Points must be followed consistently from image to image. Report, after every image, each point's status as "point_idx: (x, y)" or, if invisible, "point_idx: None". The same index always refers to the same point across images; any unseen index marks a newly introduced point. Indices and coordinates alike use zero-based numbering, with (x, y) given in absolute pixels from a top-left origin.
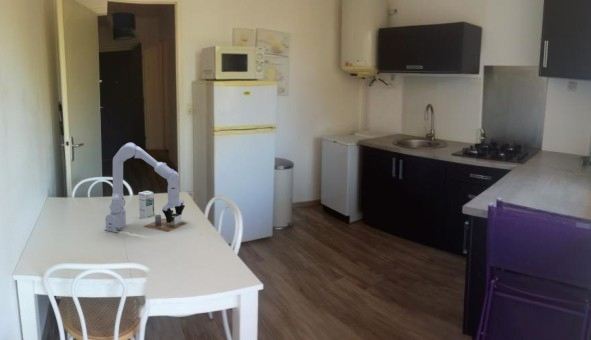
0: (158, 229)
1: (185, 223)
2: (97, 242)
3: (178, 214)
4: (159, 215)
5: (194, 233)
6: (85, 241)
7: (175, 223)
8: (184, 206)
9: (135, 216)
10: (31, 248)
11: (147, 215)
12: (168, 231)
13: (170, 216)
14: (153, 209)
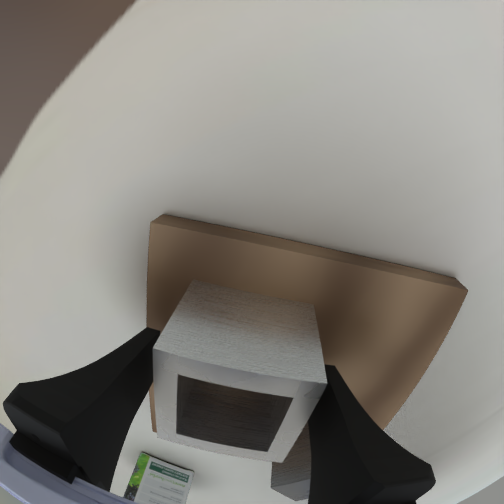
0: (412, 380)
1: (166, 241)
2: (492, 448)
3: (173, 381)
4: (297, 486)
5: (363, 48)
6: (475, 468)
7: (303, 320)
8: (20, 395)
9: None
10: (487, 485)
11: (178, 485)
12: (458, 291)
13: (374, 423)
14: (131, 490)
